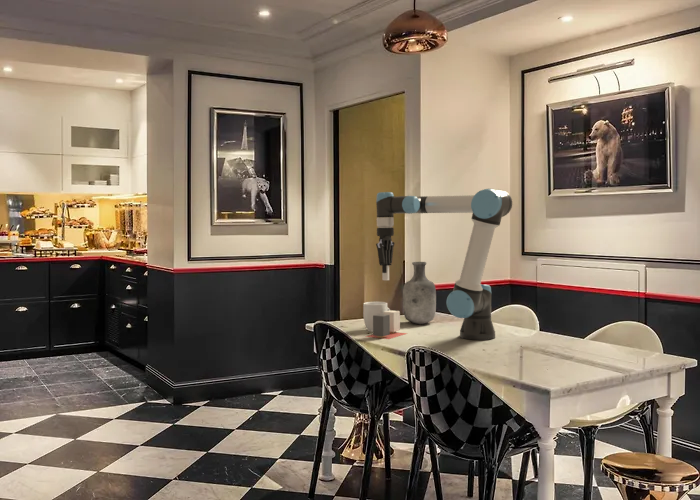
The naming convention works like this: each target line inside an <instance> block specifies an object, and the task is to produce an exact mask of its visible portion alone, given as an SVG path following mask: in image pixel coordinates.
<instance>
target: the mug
mask: <svg viewBox="0 0 700 500" xmlns="http://www.w3.org/2000/svg"><path fill="white" fill-rule="evenodd" d="M362 306H363V307H362V308H363V313H362V315H363V322H364V326H365V328H366V330H367V331H368V332H370V333H373V315H377V314H384V312H385V311H389V310H391V309H390V308H389V307H388V302H386V301H366V302H363V305H362Z"/></svg>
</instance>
